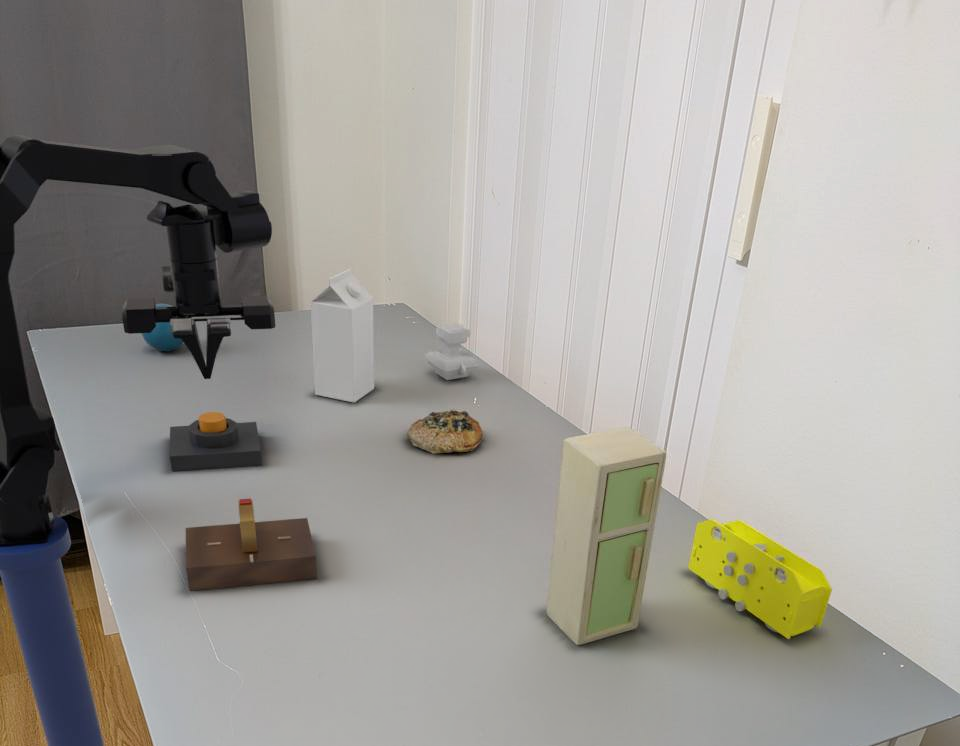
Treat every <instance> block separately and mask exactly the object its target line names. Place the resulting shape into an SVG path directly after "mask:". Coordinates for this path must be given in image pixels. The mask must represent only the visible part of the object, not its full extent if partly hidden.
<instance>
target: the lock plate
mask: <svg viewBox="0 0 960 746" xmlns="http://www.w3.org/2000/svg"><path fill="white" fill-rule="evenodd" d="M255 528H256V538H257V549H258V551H257V552H245V553H244V552H243V547H242V537H241V528H240V522H238V523H229V524H228V523H227V524H215V525H204V526H191V527H190V526H189V527H185V528H184V529H185V571H186V578H187V584H188V588H189V589H188V591H189V592H192V591H201V590H203V591H204V590H214V589H223V588H234V587H243V586H244V587H245V586H253V585H254V586H255V585H264V584H275V583H283V582H284V583H287V582H293V581H294V582H296V581H305V580H306V581H307V580H317V579H318V569H317V567H318V566H317V555H316V551H315V550H316V549H315V546H314V542H313V538H312V534H311V533H312V532H311V529H310V525H309V520H308V517H304V518H303V517H302V518H301V517H300V518H290V519H277V520H267V521H266V520H265V521H264V520H263V521H255Z"/></svg>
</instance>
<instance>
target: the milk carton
mask: <svg viewBox="0 0 960 746" xmlns="http://www.w3.org/2000/svg"><path fill="white" fill-rule="evenodd" d="M310 318H311V319H310V320H311V338H312V339H311V340H312V357H313V376H314V394H315V395H316V396H320V397H324V398H330V399H334V400H340V401H343V402H344V401H345V402H347V403H348V402H349V403H356V402H357V401H359V400H360V399H362V398H363V397H365V396H366V395H368V394H370V393H371V392H372V391H373V390H374V389H375V359H374V358H375V350H374V348H375V346H374V345H375V343H374V297H373V296H372V295H371V294H370V292H369V291H368V289H366V288H365V287H364V286H363V284H362V283H361V282H360V281H359V280H358V278H357V277H356V276H355V275H354V268H353V267H350V268H349V269H347V270H344V271H342V272H340V273H338V274H336V275H333V276H331V277H329V278H328V286H327V287H326V288H325V289H324V290H322V291H321V292H320V293H319V294H318V295H317V296H316V297H315V298H313V299H312V300H311V301H310Z"/></svg>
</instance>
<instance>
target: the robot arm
mask: <svg viewBox="0 0 960 746" xmlns="http://www.w3.org/2000/svg"><path fill="white" fill-rule="evenodd" d="M47 180H49V181H58V182H59V181H60V182H61V181H62V182H70V183H82V184H92V185H104V186H115V187H123V188H125V187H126V188H135V189H143V190H146V191H150V192H152V193H155V194H159V195H162V196H166V197H168V198H173V199H176V200H178V201H182V202H185V203H188V204H183V205H173V206H172V204H170V203H169V202H165V201H163V200H158V201H157V203H156V205H155V207H154V208H152V209H151V210H150V212H149V213H148V214H147V215H146V221H148V222H150V223H153V224H156V225H159V226H161V227H164V228H165V235H166V243H167V251H168V257H169V258H168V259H169V265H170V266H169V265H168V266H161V267H160V268H161V279H162V287H163V292H164V293H173V295H174V303H175V306H174V307H156V304H157V303H156V299H155V298H133V299H132V298H130V299H129V298H127V299H126V300H125V301H124V303H123V305H122V311H121V319H122V326H123V331H124V333H125V334H129V335H133V334H141V333H151V332H152V331H153V329H154V328H155V327H156V323H162V322H170V323H171V326H172V335H173V338H180V339H182V341H183V342H184V343H183V344H184V346H185V347H186V348H187V350H188V351H189V352H190V354H191V356H192V358H193V359H194V362H195V364H196V365H197V367H198V369H199V371H200V373H201V375H202V377H203V379H204V380H211V379H212V375H213V371H214V366H215V363H216V362H215V361H216V358H217V355H218V352H219V349H220V346H221V344H222V342H223V340H224V338H226V337H227V338H228V337H231V336H232V329H231V323H232V322H231V321H243V322H244V325H246V326H247V328H249V329H250V330H272V329H274V328H276V316H275V309H274V304H273V301H272V299H270V296H268V295H243V296H240V302H241V304H223V303H222V302H223V301H222V292H221V283H220V275H219V267H218V258H217V248H216V246H217V247H218V249H219V250H220V251H222V252H223V253H235V252H240V251H246V250H251V249H257V248H262V247H266V246H268V244H269V243H270V242H271V239H272V234H273V226H272V222H271V220H270V218H269V215H268V213H267V210H266V209H265V207H264V206H263V204H262V203H261V201H260V194H259V192H256V191H252V190H243V191H242V190H241V191H240V192H238V193H233V194H232V193H231V194H230V193H229V192H228V190H227V188H226V187H225V186H224V185H223V184H222V182H221V181H220V179H219V178H218V177H217V173H216V169H215V166H214V164H213V163H212V161H211V159H210V157H209V156H208V155H206V154H205V153H202V152H199V151H196V150H192V149H188V148H185V147H182V146H181V147H180V146H177V145H173V144H159V145H148V146H147V145H146V146H142V147H137V148H134V149H133V148H132V149H117V148H110V147H102V146H94V145H85V144H78V143H71V142H62V141H53V140H45V139H36V138H33V137H29V136H26V135H23V134H11V136H8V137H6V139H4V141H2V142H1V144H0V547H6V546H18V545H31V544H43V543H46V542H47V541H48V538H49V533H50V532H51V531H52V529H53V524H54V518H53V515H54V514H53V512H52V511H53V509H52V504H51V500H50V497H49V493H47V487H48V480H49V473H50V471H51V469H52V468H54V467H55V466H56V465H55V464H56V451H57V452H60V451H61V447H60V446H59V444H58V443H57V439H56V424H55V420H54V418H53V416H51V415H49V414H47V412H44V411H42V410H41V409H40V408H38V407H36V406H35V405H34V404H33V402H32V399H31V394H30V388H29V383H28V377H27V371H26V367H25V361H24V356H23V350H22V344H21V340H20V335H19V334H20V333H19V329H18V322H17V317H16V311H15V307H14V301H13V295H12V291H11V285H10V277H9V276H10V271H11V267H12V263H13V260H14V256H15V252H16V242H15V241H16V236H15V235H16V232H15V229H16V228H15V225H16V223H18V221H19V220H20V219H21V218H22V217H23V215H25V213H27V212H28V210H29V209H30V207H31V206H32V204H33V201H34V200H35V197H36V196H37V194H38V191H39V190H40V188H41V186H43V184H44V183H45V182H47ZM189 203H190V204H189ZM194 205H202V206H205V207H206V208H205V209H199V210H198V209H197V207H195V206H194ZM222 304H223V305H222ZM196 322H206V349H205V350H206V351H205V356H204V352H203V348H202V345H201V340H200V336H199V332H198V327H197V323H196Z"/></svg>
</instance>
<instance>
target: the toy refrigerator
mask: <svg viewBox="0 0 960 746" xmlns="http://www.w3.org/2000/svg"><path fill="white" fill-rule="evenodd" d="M666 461H667V451H666V450H665V449H663V448H662V447H661V446H660V445H658V444H656V443H654V442H653V441H652V440H650V439H648V438H647V437H645V436H644V435H642V434H641V433H639V432H638V431H637V430H635V429H633V428H631V427H629V426H625V427H617V428H611V429H607V430H602V431H597V432H592V433H591V432H590V433H587V434H581V435H576V436H571V437H566V438H565V439H564V440H563V442H562V450H561V458H560V469H559V478H558V479H559V480H558V490H557V500H556V513H555V522H554V523H555V524H554V530H553V531H554V532H553V539H552V541H553V542H552V550H551V551H552V552H551V560H550V561H551V562H550V570H549V571H550V572H549V579H548V591H547V592H548V593H547V602H546V615H547V617H548V618H549V619H550V620H551V621H552V622H553V623H554V624H555V625H556V626H557V627H558V628H559V629H560V630H561V631H562V632H563V633H564V634H565V635H566V636H567V637H568V638H569V639H570V640H571V641H572V642H573V643H574V644H575V645H576V646H581V645H585V644H589V643H592V642H596V641H599V640H602V639H605V638H608V637H611V636H615V635H619V634H622V633H625V632H628V631H632V630H636V629H637V627H638V626H639V620H640V615H641V610H642V603H643V598H644V597H643V596H644V591H645V585H646V579H647V572H648V567H649V561H650V554H651V548H652V543H653V538H654V532H655V525H656V520H657V515H658V510H659V503H660V497H661V490H662V484H663V478H664V474H665V469H666Z"/></svg>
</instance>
